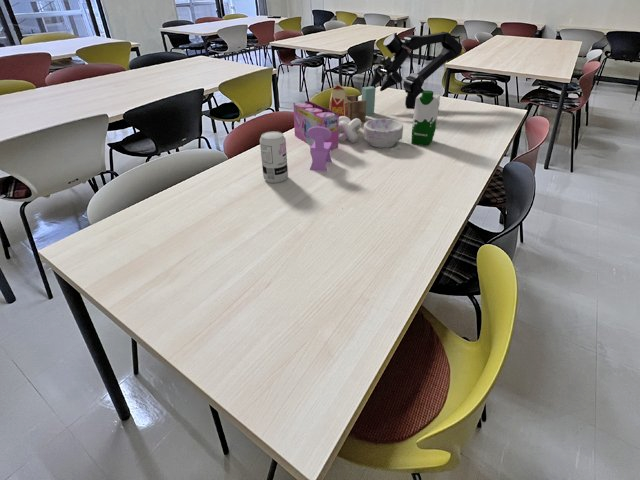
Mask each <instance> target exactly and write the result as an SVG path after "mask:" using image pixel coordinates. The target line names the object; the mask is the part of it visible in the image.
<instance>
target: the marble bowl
mask: <svg viewBox="0 0 640 480" xmlns="http://www.w3.org/2000/svg"><path fill="white" fill-rule="evenodd" d="M403 133H404V124H403V123H402V122H400V121H398V120H395V119H392V118H374V119H373V118H372V119H369V120H368V121H367V120H366V121H365V122H364V124H363V138H364V139H365V140H366V141H368V143H369V145H371V146H373V147H375V148H381V149H384V148H385V149H386V148H390V147H393V146H394V145H396V143H397V142H400V140H402V139H403Z"/></svg>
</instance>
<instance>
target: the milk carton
mask: <svg viewBox="0 0 640 480" xmlns="http://www.w3.org/2000/svg"><path fill="white" fill-rule="evenodd" d="M347 96H348V94H347V89H346V88H345V87H343V86H342V85H341V84H340V82H339V81H338V82H337V85H336V86H335V87H333V88H332V89H331V94H330V99H329V104H328V105H329V107H328V110H331V111H333V112H335V113H337V114H339V117H341V116H346V117H348V118H349V112H348V101H347ZM339 133H340V130H339Z"/></svg>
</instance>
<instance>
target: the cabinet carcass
mask: <svg viewBox="0 0 640 480" xmlns="http://www.w3.org/2000/svg"><path fill="white" fill-rule="evenodd" d="M347 101H348V112H349V119H350V120H351V121H352V120H353V119H355V118H358V119H360V120H361V123H366V116H367V115H366V100H362V99H361V100H359V95H358V94H349V95H347Z"/></svg>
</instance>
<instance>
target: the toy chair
mask: <svg viewBox="0 0 640 480" xmlns="http://www.w3.org/2000/svg"><path fill="white" fill-rule="evenodd" d="M308 135H309V137H311V138H312V139H313V140H315V141H314V143H313V145H312V146H311V145H310V148H309V153H310V157H311V166H310V167H309V171H310V170H311V171H323V172H328V168H327V165H326V162H327V163H332V162H333V161H332V157H331V151H332V150H331V148H332V142H325V141H326V140H328V139H329V138H330V137H331V135H332V132H331V131H330V130H329V129H327V128H325V127H319V126H315V127H311V128H309V129H308Z"/></svg>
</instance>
